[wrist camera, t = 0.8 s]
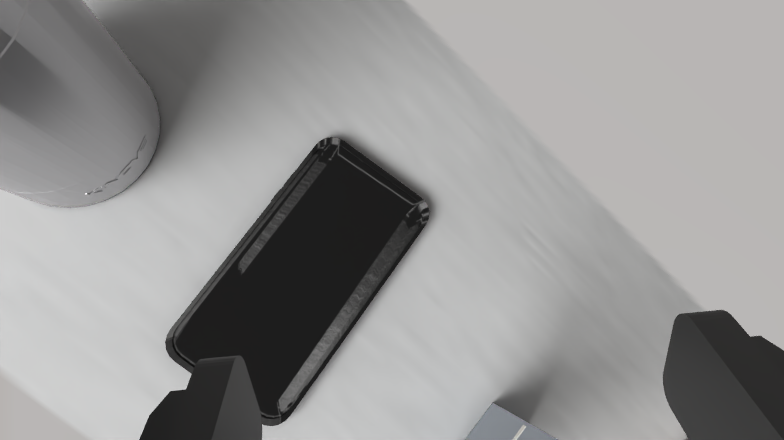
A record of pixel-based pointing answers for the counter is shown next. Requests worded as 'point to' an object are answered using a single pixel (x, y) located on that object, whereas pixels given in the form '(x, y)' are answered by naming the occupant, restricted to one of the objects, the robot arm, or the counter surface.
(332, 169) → the phone
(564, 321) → the counter surface
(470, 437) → the domino
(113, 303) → the counter surface
